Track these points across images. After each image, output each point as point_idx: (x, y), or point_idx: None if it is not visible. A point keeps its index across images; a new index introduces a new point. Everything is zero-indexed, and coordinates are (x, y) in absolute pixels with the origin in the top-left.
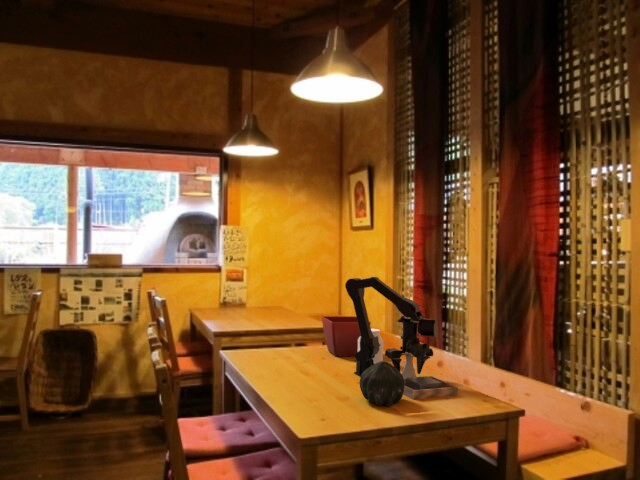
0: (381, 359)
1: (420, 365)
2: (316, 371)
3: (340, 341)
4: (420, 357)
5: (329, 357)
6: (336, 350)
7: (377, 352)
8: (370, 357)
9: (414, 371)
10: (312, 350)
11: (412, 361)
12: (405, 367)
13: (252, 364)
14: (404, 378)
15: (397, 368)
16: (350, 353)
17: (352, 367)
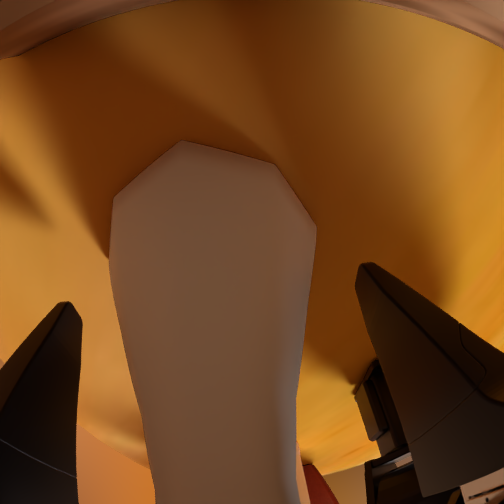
0: None
1: (24, 391)
2: None
3: (317, 500)
4: (18, 500)
5: (332, 458)
6: (319, 477)
7: (387, 493)
8: (402, 456)
9: (132, 301)
10: (326, 470)
11: (161, 482)
12: (293, 372)
13: None
14: (487, 7)
15: (447, 319)
16: None
17: (351, 425)
